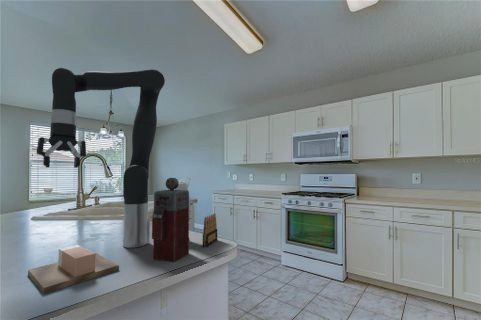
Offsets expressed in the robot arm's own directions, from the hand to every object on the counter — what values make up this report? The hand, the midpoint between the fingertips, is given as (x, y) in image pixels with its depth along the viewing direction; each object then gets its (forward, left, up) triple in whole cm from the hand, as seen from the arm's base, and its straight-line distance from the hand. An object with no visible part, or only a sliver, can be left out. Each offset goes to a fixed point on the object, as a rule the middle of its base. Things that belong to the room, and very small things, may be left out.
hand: (62, 167), depth 85 cm
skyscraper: (-38, +20, -33) cm, 54 cm away
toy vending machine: (-24, +32, -32) cm, 51 cm away
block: (+1, +28, -28) cm, 40 cm away
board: (+1, +20, -32) cm, 38 cm away
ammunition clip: (-44, +32, -32) cm, 63 cm away
